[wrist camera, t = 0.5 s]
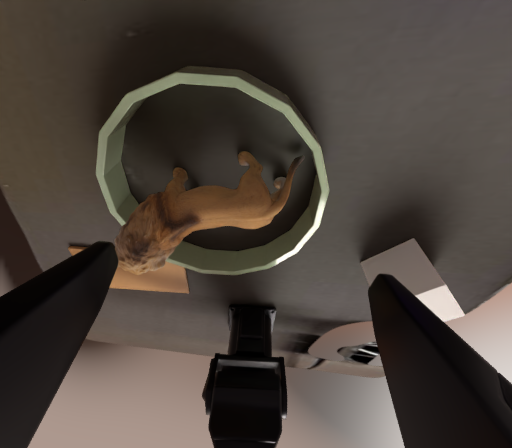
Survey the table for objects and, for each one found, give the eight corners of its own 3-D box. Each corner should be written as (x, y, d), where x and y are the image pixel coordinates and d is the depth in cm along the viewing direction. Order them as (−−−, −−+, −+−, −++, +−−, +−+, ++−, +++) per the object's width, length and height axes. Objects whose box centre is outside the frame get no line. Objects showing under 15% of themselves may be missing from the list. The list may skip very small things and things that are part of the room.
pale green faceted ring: (301, 259, 29) (304, 280, 26) (142, 248, 29) (131, 268, 26) (346, 77, 17) (359, 85, 15) (82, 57, 17) (52, 63, 15)
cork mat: (189, 290, 33) (189, 293, 33) (91, 284, 33) (89, 286, 33) (183, 253, 29) (182, 256, 29) (69, 245, 29) (67, 248, 28)
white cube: (382, 287, 31) (402, 334, 27) (359, 262, 29) (377, 309, 24) (433, 267, 29) (465, 315, 24) (414, 237, 26) (445, 284, 21)
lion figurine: (170, 222, 26) (133, 295, 19) (137, 178, 23) (80, 247, 16) (310, 179, 22) (329, 251, 15) (294, 120, 19) (308, 177, 12)
